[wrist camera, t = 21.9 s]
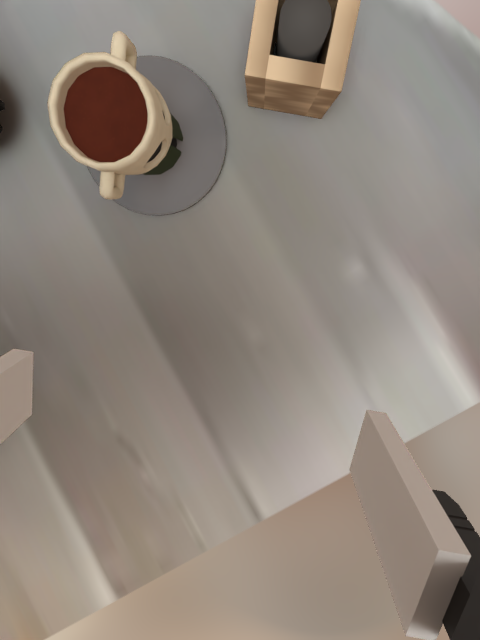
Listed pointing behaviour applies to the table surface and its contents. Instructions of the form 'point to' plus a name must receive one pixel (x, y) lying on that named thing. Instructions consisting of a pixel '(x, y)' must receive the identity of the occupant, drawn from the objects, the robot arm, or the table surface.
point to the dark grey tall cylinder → (303, 29)
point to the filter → (0, 107)
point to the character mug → (113, 117)
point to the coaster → (179, 143)
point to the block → (298, 63)
